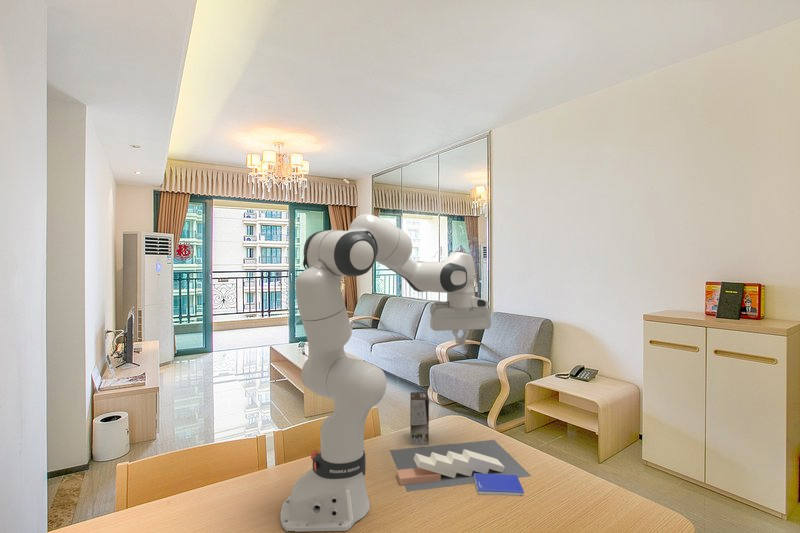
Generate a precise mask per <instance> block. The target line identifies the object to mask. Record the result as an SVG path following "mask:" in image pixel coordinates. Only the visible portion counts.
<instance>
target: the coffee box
mask: <svg viewBox="0 0 800 533" xmlns="http://www.w3.org/2000/svg"><path fill="white" fill-rule="evenodd" d="M429 398H430V397H429V394H428V391H417V392H414V391H413V392H412V391H410V405H409V406H410V411H409V412H410V414H409V416H410V418H409V419H410V424H409V425H410V427H409V428H410V445H411V446H429V440H430V438H429V437H430V436H429V429H430V427H429V425H430V423H429V422H430V421H429V420H430V419H429V418H430V399H429Z"/></svg>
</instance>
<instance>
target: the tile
mask: <svg viewBox="0 0 800 533" xmlns="http://www.w3.org/2000/svg"><path fill="white" fill-rule="evenodd" d="M396 478H397V480H398V483H399V486H405V485H407V484H415V483H423V482H432V481H440V480H441V474H439V473H435V472H432V471H429V470H425V469H422V468H411V469H402V470H398V469H396Z"/></svg>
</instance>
